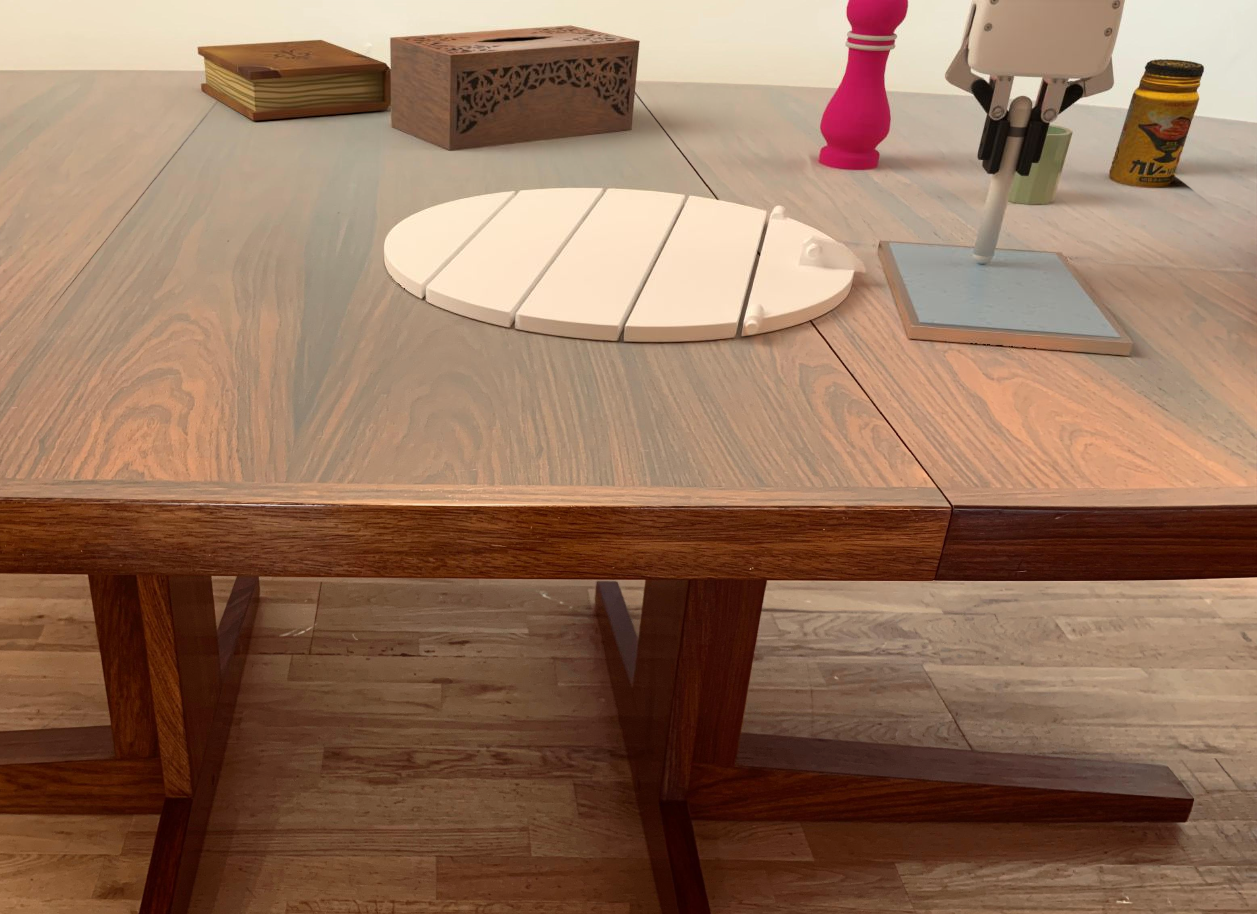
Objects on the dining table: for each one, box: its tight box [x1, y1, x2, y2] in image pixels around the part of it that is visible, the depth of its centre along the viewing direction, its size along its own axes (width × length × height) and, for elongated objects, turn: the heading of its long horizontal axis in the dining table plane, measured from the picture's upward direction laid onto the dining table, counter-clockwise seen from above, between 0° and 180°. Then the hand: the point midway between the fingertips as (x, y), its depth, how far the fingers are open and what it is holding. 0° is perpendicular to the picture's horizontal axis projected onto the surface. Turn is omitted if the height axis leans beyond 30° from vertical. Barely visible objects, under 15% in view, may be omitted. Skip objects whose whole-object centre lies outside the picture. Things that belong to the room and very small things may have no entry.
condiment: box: [1108, 58, 1205, 189], centre depth 124 cm, size 7×8×12 cm
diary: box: [197, 39, 391, 121], centre depth 158 cm, size 23×19×6 cm
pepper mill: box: [818, 0, 909, 171], centre depth 126 cm, size 7×7×20 cm
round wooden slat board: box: [383, 187, 867, 343], centre depth 101 cm, size 40×39×3 cm
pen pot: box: [1008, 123, 1073, 206], centre depth 118 cm, size 6×6×7 cm
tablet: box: [877, 240, 1134, 357], centre depth 94 cm, size 15×22×1 cm
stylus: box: [973, 95, 1033, 264], centre depth 95 cm, size 2×2×13 cm
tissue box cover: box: [389, 24, 641, 151], centre depth 144 cm, size 26×14×10 cm, turn 119°
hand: (1005, 169), depth 95 cm, fingers closed on stylus, 1 cm apart
